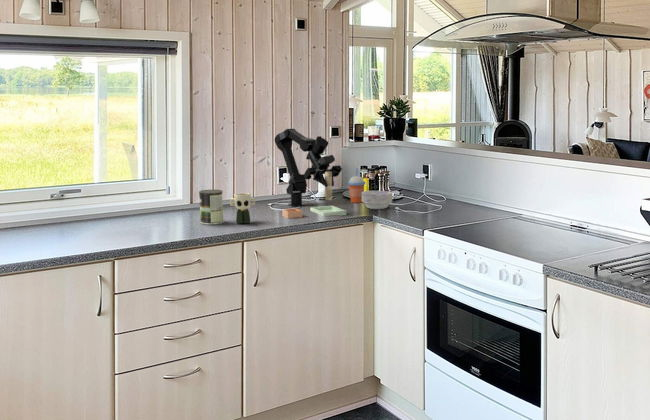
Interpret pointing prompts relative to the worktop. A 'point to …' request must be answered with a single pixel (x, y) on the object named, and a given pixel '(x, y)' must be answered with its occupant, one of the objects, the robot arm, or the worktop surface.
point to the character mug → (242, 206)
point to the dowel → (329, 188)
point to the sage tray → (328, 210)
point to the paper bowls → (377, 199)
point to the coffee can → (211, 207)
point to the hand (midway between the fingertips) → (330, 186)
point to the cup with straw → (356, 188)
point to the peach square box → (292, 213)
